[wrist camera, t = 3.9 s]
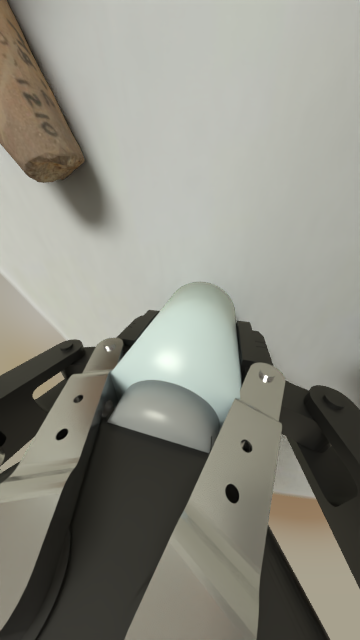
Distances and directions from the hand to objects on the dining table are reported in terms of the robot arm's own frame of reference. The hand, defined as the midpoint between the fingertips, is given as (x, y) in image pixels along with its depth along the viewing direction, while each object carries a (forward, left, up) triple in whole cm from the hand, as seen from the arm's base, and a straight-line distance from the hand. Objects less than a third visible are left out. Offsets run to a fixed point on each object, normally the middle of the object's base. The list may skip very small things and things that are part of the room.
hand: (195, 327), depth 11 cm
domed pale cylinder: (0, 0, -2) cm, 2 cm away
